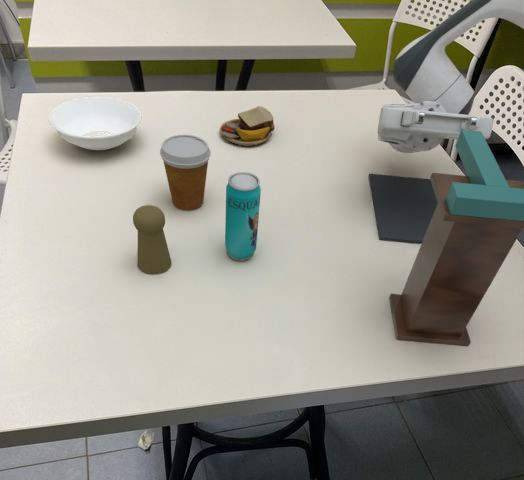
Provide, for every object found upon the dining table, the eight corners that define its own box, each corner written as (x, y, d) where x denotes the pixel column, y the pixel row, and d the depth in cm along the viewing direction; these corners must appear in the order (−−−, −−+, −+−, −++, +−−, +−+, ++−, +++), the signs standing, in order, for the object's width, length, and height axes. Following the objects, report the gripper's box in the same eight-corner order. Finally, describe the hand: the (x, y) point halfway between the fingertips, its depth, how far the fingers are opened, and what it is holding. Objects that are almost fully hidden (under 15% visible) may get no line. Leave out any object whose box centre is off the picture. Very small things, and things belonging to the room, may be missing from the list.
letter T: (503, 150, 74) (511, 134, 72) (543, 223, 62) (553, 206, 60) (425, 142, 74) (431, 126, 72) (449, 214, 62) (457, 197, 60)
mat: (437, 182, 113) (437, 179, 113) (458, 247, 98) (460, 244, 97) (368, 175, 113) (368, 173, 112) (379, 239, 97) (380, 237, 97)
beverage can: (249, 266, 89) (254, 193, 78) (219, 257, 90) (220, 184, 79) (260, 248, 93) (266, 176, 81) (231, 240, 94) (234, 167, 82)
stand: (458, 303, 87) (523, 181, 69) (471, 346, 81) (547, 223, 62) (386, 297, 87) (432, 172, 68) (393, 339, 80) (445, 214, 62)
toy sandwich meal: (213, 125, 123) (213, 106, 119) (264, 121, 127) (265, 102, 123) (228, 150, 116) (229, 130, 112) (281, 144, 119) (284, 125, 116)
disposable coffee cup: (218, 209, 100) (218, 153, 91) (173, 219, 97) (169, 162, 88) (200, 185, 105) (199, 130, 96) (157, 193, 102) (152, 137, 93)
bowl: (58, 170, 105) (51, 141, 100) (52, 126, 117) (45, 98, 112) (152, 160, 110) (149, 133, 105) (136, 120, 122) (133, 93, 117)
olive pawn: (129, 264, 87) (120, 211, 79) (153, 248, 91) (147, 195, 82) (155, 279, 85) (148, 226, 77) (178, 261, 89) (174, 209, 80)
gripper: (471, 149, 98) (503, 146, 85) (369, 139, 97) (385, 134, 84) (479, 114, 95) (513, 105, 82) (374, 104, 95) (392, 93, 82)
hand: (447, 120), depth 83 cm, fingers open, 8 cm apart
